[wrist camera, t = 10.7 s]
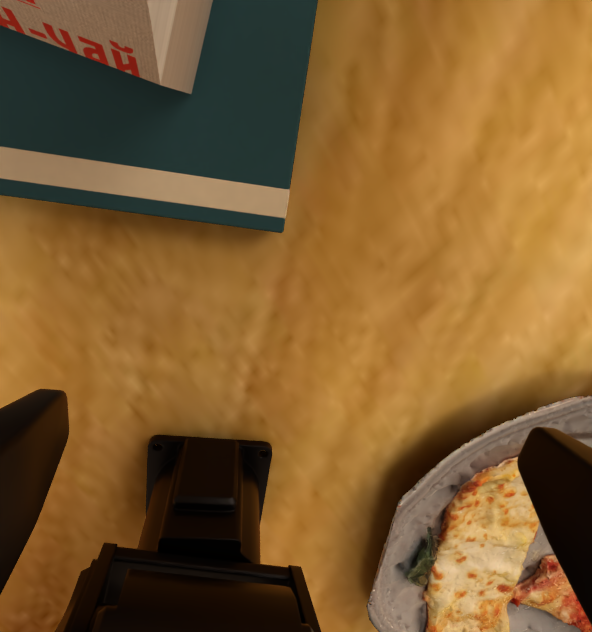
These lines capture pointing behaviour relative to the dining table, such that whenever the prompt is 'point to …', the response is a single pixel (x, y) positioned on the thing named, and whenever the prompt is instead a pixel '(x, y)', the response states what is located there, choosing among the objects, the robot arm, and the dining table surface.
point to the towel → (163, 122)
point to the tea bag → (121, 33)
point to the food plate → (479, 542)
